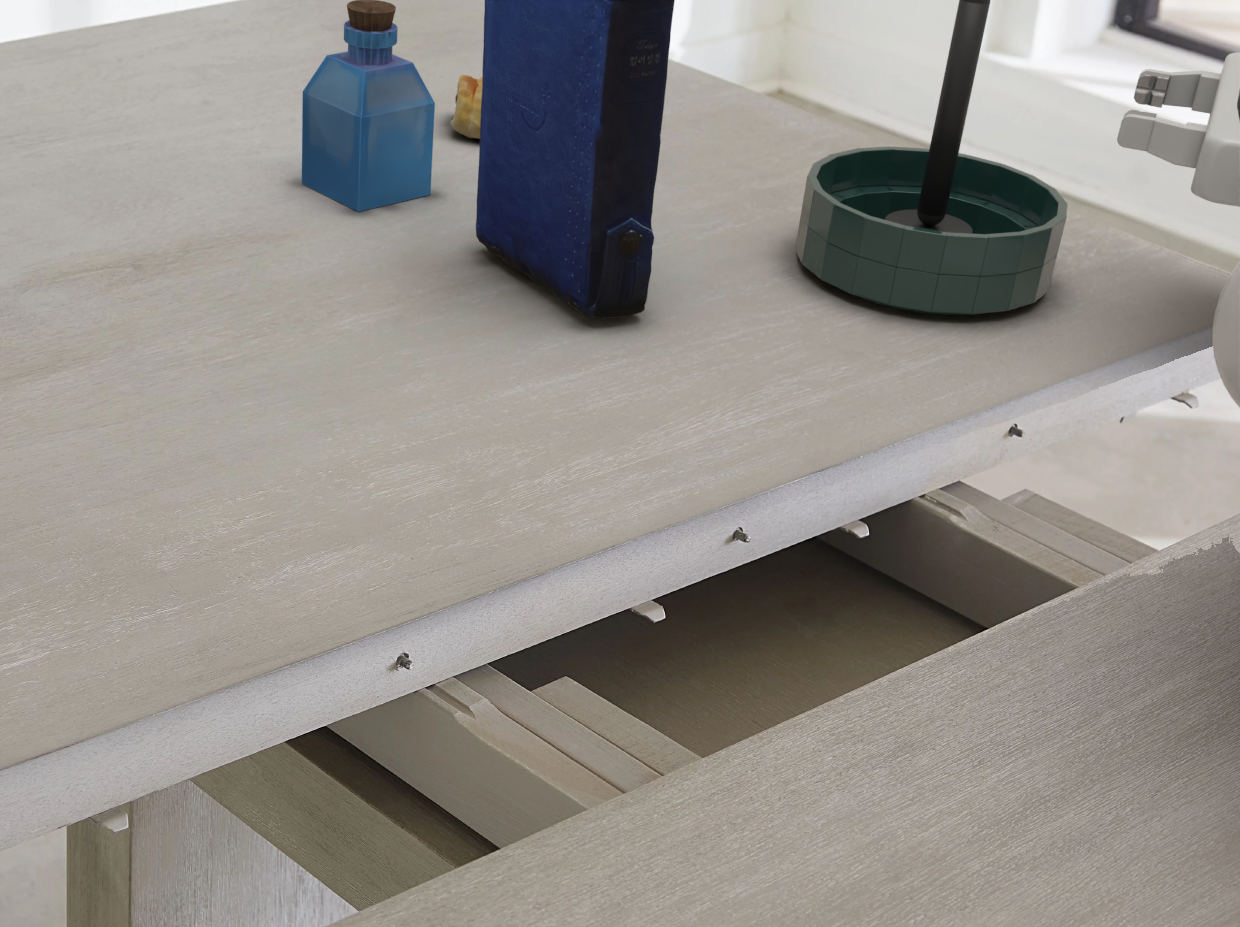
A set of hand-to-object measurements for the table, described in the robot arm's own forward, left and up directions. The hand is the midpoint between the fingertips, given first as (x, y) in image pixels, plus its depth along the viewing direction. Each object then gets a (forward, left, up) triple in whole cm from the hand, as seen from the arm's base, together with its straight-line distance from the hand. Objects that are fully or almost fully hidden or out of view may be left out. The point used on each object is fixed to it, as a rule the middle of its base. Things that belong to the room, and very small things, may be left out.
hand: (1128, 105), depth 113 cm
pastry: (+35, -28, -13) cm, 47 cm away
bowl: (+9, -4, -13) cm, 16 cm away
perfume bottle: (+45, -14, -13) cm, 49 cm away
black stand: (+9, -4, -12) cm, 16 cm away
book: (+33, +1, -13) cm, 36 cm away
